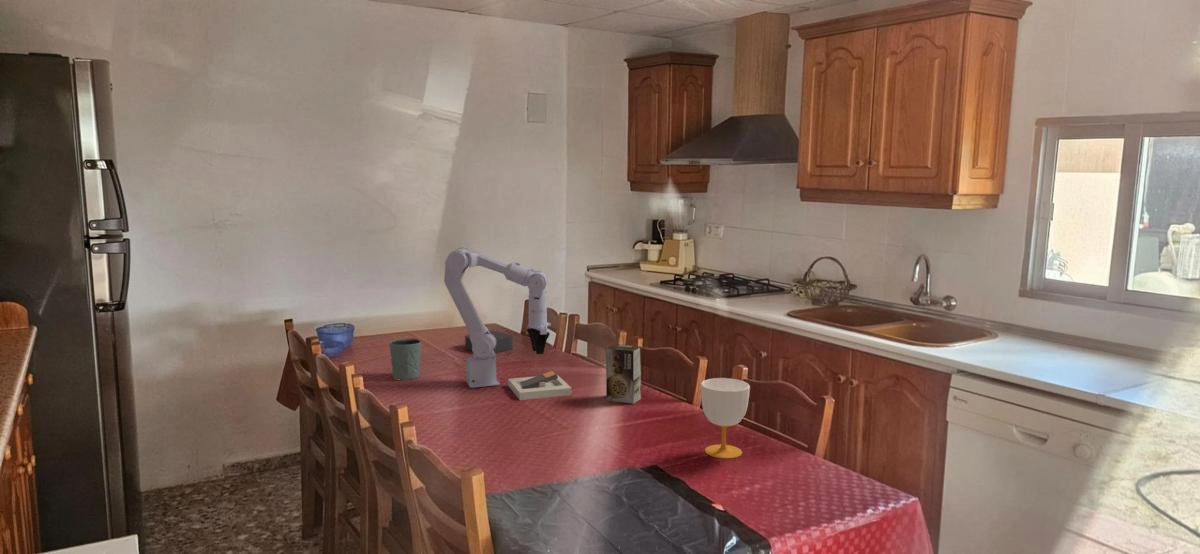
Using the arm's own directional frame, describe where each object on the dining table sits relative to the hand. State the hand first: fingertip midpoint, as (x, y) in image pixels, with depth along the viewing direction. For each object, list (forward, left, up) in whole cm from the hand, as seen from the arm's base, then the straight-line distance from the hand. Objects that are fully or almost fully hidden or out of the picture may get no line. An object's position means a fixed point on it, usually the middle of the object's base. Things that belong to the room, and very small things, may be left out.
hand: (538, 352), depth 248 cm
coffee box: (+20, -24, -11) cm, 33 cm away
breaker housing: (-1, -7, -10) cm, 13 cm away
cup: (+28, -72, -11) cm, 78 cm away
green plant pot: (-39, +22, -11) cm, 46 cm away
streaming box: (-6, +53, -11) cm, 54 cm away
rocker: (-1, -7, -8) cm, 11 cm away
